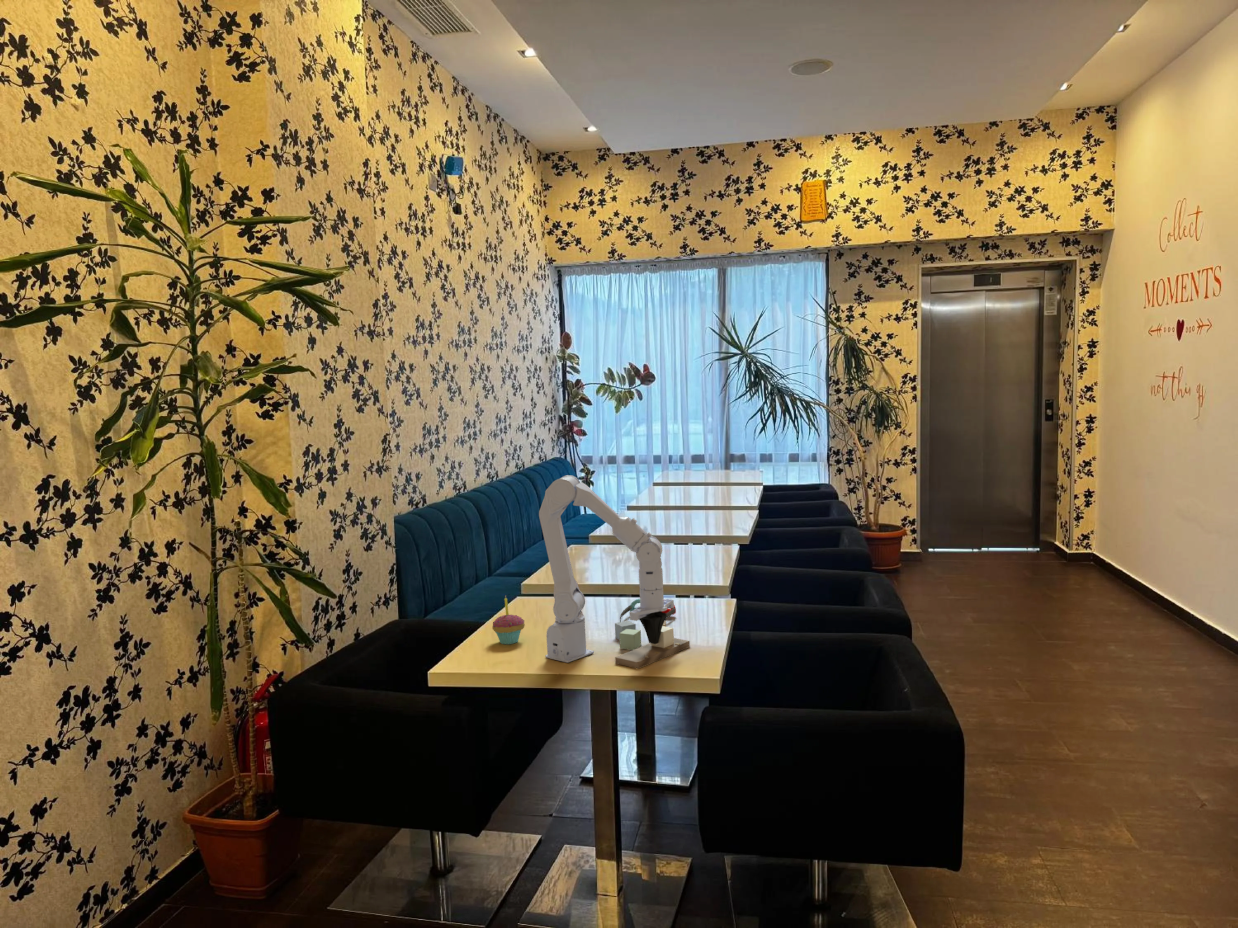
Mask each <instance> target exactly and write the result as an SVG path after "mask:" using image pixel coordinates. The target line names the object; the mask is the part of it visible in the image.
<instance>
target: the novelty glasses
mask: <svg viewBox="0 0 1238 928" xmlns="http://www.w3.org/2000/svg"><path fill="white" fill-rule="evenodd" d="M637 604H640V597H639V598H636V599H635V600H633V601H632V602H631V603H630V605H628V606H627V607H626V608H624V609H623V611H622V612H621V614H620V616H619V622H622V617H623V616H624V615H626V614H627V613H628V612H629V613H630V612H631V611H633V610H635V609H636V608H637V607H636V605H637ZM676 609H677V608H676V606H675V604H674V608H668V609H667V610H665V611H662V612H663V613H666V614H667V617H666V619H667V618H669V617H670V616H673V615H675V614H676V613H677V610H676Z"/></svg>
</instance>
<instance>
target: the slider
mask: <svg viewBox="0 0 1238 928" xmlns="http://www.w3.org/2000/svg"><path fill="white" fill-rule="evenodd" d="M674 636H675V634H674V627H669V626H666V627H665V626H662V629H661V633H660V638H659V642H658V643H657V644H652V643H651V645H652V646H656V647H661V648H665V647H668V646H670V645H673V644H674V638H675V637H674Z"/></svg>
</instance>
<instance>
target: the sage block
mask: <svg viewBox="0 0 1238 928" xmlns="http://www.w3.org/2000/svg"><path fill="white" fill-rule="evenodd" d="M619 634H620V640H619V649H621V650H629V651H630V650H631V651H632V650H635V649H637V648H640V647H642V631H641V629H636V630H632V629H626V630H624V631H622V632H621V633H619Z"/></svg>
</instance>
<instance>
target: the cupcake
mask: <svg viewBox="0 0 1238 928" xmlns="http://www.w3.org/2000/svg"><path fill="white" fill-rule="evenodd" d="M504 608H505V614H504V615H501V616H498V617H497V618H496V619H494V621H493V622H492V628H491V629H492V630H493V631H494V632H495V634H496V637H498V638H497V639H498V640H499V644H502V645H513V644H517V643H518V642H519V638H520V636H521V631H522V630H523V629H524V628H525V626H526V625H525V620H524V619H523V618H522V617H521V616H519V615H517V614H510V613H509V605H508V598H507V595H505V596H504Z"/></svg>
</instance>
